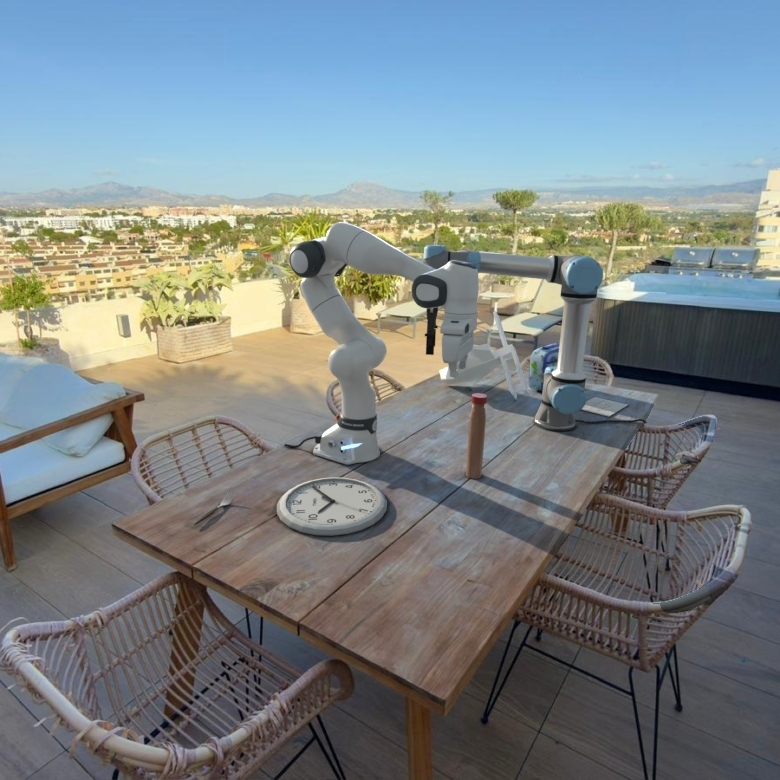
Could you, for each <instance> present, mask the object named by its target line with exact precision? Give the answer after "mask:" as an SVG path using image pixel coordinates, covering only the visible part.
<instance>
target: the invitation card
mask: <svg viewBox="0 0 780 780" xmlns="http://www.w3.org/2000/svg"><path fill="white" fill-rule="evenodd" d="M628 406H629V404H627V403H623V402H618V401H614V400H609V399H605V398H601V397H596V396H593V397H592V398H590V399H587V401H586V404H585V406H584V407H583V408H582V409H581V410H580V411H584V412H587V413H593V414H596V415H600V416H604V417H608V418H609V417H611V416H613V415H614V414H616V413H617V412H619V411H621V410H623V409H624V408H626V407H628Z"/></svg>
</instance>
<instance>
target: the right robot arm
mask: <svg viewBox="0 0 780 780" xmlns="http://www.w3.org/2000/svg"><path fill="white" fill-rule="evenodd" d="M452 260H459V261H466V262H469V263H472V264H474V265H475V266H476V268H477V270H478V274H487V275H497V276H507V277H508V276H509V277H516V278H518V277H519V278H527V279H536V280H545V281H546V282H547V283H549V284H557V285H560V286H561V287H560V298H561V299H562V300H563V312H562V318H561V319H562V320H561V329H560V337H559V344H560V345H559V354H558V363H557V366H553V367H547V368H546V369H545V373H544V382H543V391H541V392H542V394H541V402H540V405H539V407H538V410H537V411H536V413H535V416H534V424H535V425H536V426H537V427H539V428H542V429H544V430H549V431H556V432H567V431H572V430H574V429H575V428H576V423H582V424H601V423H636V422H643V423H644V424H647V423H648V422H647V421H646V420H645V419H643V418H637V419H632V420H631V419H629V420H626V419H622V420H621V419H604V420H593V421H591V420H590V421H588V420H582V419H576V418H575V417H576V416H575V414H576V413H579V412H580V411H582V410H581V409H582V408H583V407H584V406H585V404H586V401H588V397H587V392H586V391H585V390H586V389H585V388H586V383H587V382H586V381H587V375H586V374H585V373H584V372H583V369H584V360H585V353H586V347H587V337H588V330H589V322H590V314H591V306H592V303H593V302H594V301H596V300H597V297H598V291H599V288H600V286H601V285H602V283H603V280H604V270H603V267H602V265H601V264H600V263H599V262H598V261H597V260H596V259H595V258H593V257H591V256H587V255H581V254H580V255H579V254H572V255H571V254H570V255H569V254H568V255H554V254H553V255H551V256H549V257H545V256H544V257H543V256H532V255H522V254H511V253H499V252H490V251H489V252H488V251H477V250H468V249H459V250H457V251H449V250H447V247H446V245H444V244H427V245H425V246H424V248H423V259H422V262H424V263H426V264H428V265H430V266H432V267H434V268H437V269H439V268H441V267H443V266H445V265H446V264H447V263H448V262H449V261H452ZM425 311H426V321H427V324H426V333H424V337H425V340H426V341H425V342H426V343H425V355H428V356H434V355H435V352H434V351H435V347H436V338H437V337H436V336H437V329H438V328H439V325H437V320H438V319H437V318H438V312H439V307H436V308H431V309H428V308H426V309H425Z"/></svg>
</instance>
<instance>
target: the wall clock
mask: <svg viewBox="0 0 780 780" xmlns="http://www.w3.org/2000/svg"><path fill="white" fill-rule="evenodd" d="M387 509H388V500H387V498H386V496H385V494H384V493H383V492H382V491H381V490H380V489H379V488H377V487H376V486H374V485H372V484H371V483H369V482H365V481H362V480H359V479H355V478H349V477H338V476H337V477H335V476H333V477H332V476H331V477H322V478H317V479H312V480H307V481H305V482H302V483H299V484H297V485H295V486H293V487H292V488H290V489H288V490H287V491H286V492H285V493H284V494H283V495H281V496H280V498H279V499H278V502H277V503H276V515H277V517H278V518H279V520H280V521H281V522H282V523H283V524H285V525H286V526H287V527H288V528H290V529H293V530H295V531H297V532H299V533H303V534H308V535H312V536H327V537H328V536H329V537H331V536H332V537H333V536H342V535H350V534H352V533H356V532H361V531H363V530H366V529H368V528H369V527H372V526H373V525H375V524H376V523H378V522H379V521H380V520H381V519H382V518H383V517H384V516H385V514H386V512H387Z"/></svg>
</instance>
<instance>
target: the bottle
mask: <svg viewBox="0 0 780 780" xmlns="http://www.w3.org/2000/svg"><path fill="white" fill-rule="evenodd" d="M486 422H487V414H486V406H485V404H474V403H472V407H471V410H470V415H469V425H468V441H467V455H466V458H467V459H466V468H465V469H466V470H465V476H466V477H467V478H469V479H473V480H474V479H475V480H478V479H481V478H482V475H483V463H484V462H483V461H484V449H485V436H486Z"/></svg>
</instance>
